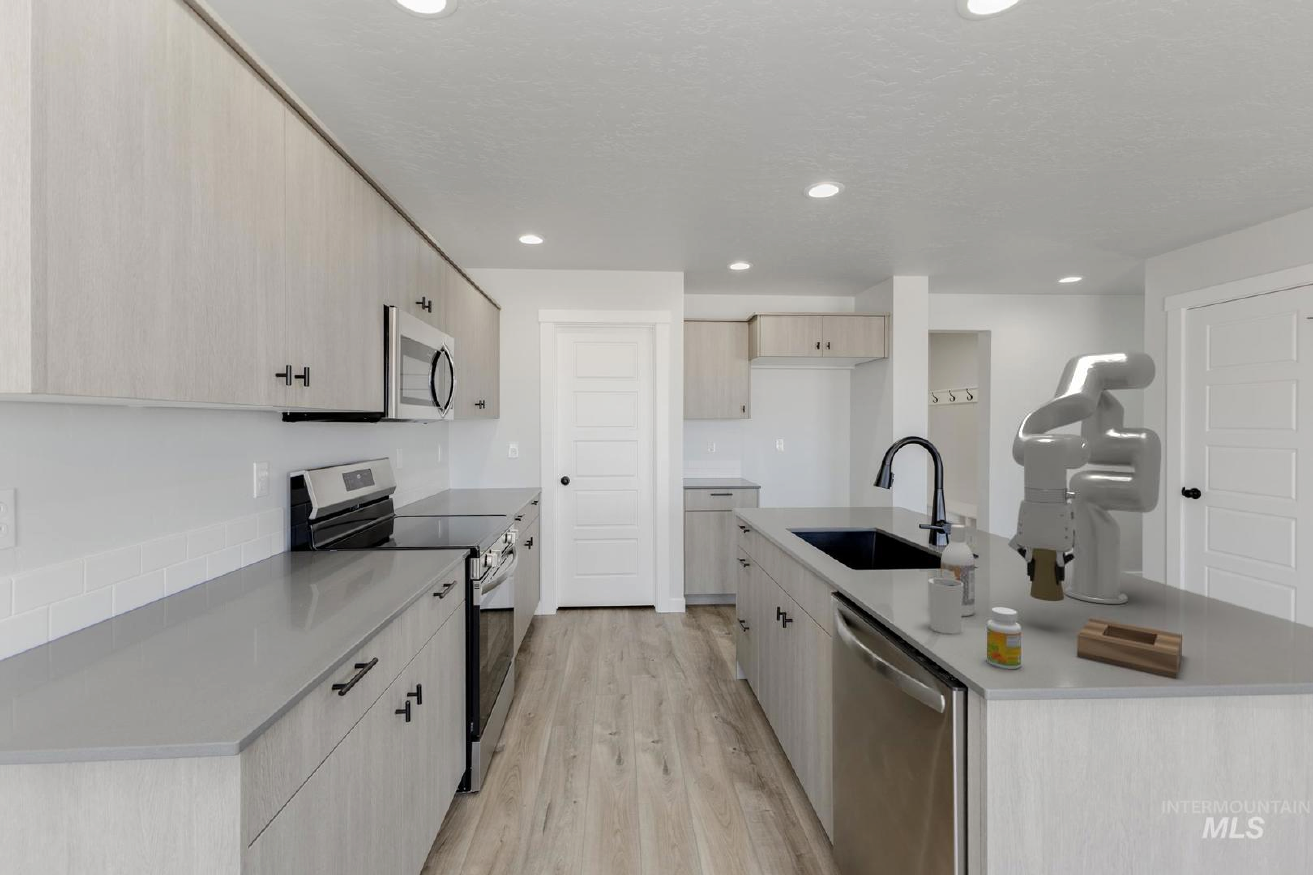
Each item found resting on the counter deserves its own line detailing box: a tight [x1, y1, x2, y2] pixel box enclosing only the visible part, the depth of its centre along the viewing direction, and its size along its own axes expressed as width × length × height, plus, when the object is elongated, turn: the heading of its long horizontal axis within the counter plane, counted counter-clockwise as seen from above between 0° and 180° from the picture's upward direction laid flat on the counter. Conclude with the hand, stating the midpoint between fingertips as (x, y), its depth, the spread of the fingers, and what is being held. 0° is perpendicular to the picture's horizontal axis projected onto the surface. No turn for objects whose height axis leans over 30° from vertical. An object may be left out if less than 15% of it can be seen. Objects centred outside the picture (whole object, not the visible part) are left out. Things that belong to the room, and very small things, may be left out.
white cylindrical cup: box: [928, 577, 963, 635], centre depth 127 cm, size 7×7×10 cm
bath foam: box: [940, 524, 976, 617], centre depth 138 cm, size 7×7×20 cm
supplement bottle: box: [986, 606, 1022, 670], centre depth 109 cm, size 5×5×10 cm
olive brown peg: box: [1030, 549, 1065, 602], centre depth 127 cm, size 6×6×11 cm
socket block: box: [1076, 617, 1183, 679], centre depth 112 cm, size 14×14×4 cm
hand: (1045, 580), depth 127 cm, fingers closed on olive brown peg, 3 cm apart
